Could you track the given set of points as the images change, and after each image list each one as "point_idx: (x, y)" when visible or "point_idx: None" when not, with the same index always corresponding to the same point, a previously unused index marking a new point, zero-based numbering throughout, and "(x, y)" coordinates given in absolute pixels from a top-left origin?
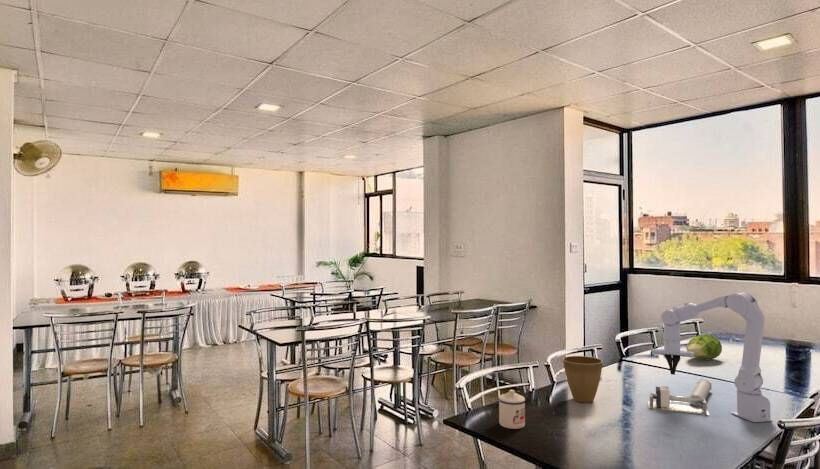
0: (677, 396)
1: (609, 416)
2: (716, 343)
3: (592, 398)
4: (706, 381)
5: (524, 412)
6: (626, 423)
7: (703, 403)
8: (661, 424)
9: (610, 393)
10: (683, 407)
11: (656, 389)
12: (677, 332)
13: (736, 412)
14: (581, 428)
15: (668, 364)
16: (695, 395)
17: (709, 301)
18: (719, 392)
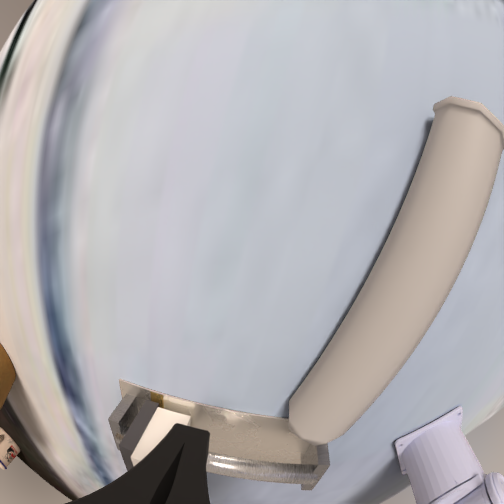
0: (213, 472)
1: (72, 451)
2: None
3: (11, 385)
4: (498, 143)
5: (10, 457)
6: (106, 479)
7: (301, 486)
8: None
9: (16, 287)
10: (245, 434)
11: (126, 466)
12: None
13: (410, 440)
14: (63, 471)
15: (125, 475)
16: (312, 441)
17: None
18: None
